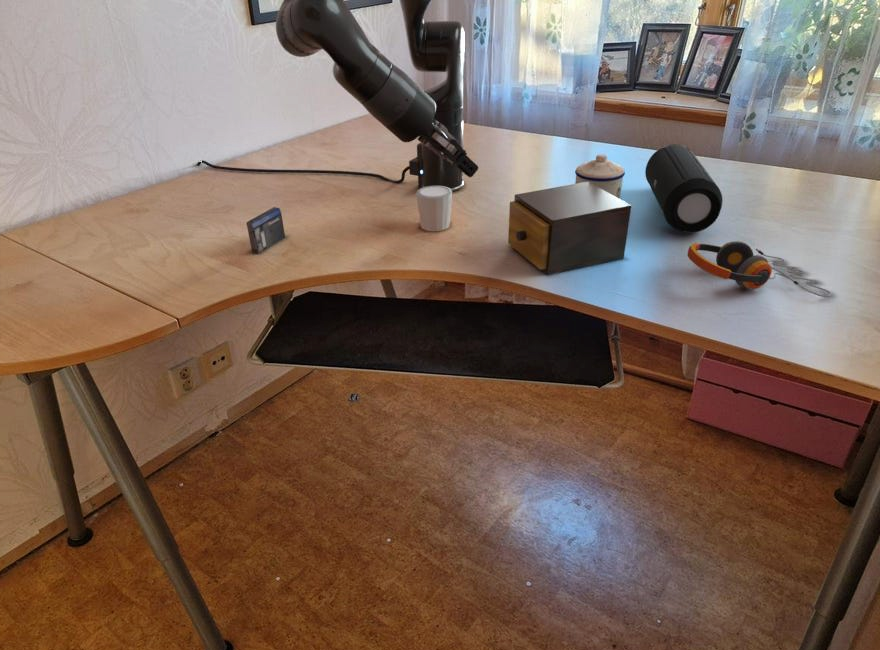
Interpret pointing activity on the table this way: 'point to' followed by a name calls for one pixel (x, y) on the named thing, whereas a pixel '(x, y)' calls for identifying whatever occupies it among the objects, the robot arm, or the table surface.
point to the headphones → (743, 265)
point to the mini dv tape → (265, 230)
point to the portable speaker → (683, 189)
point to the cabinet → (580, 225)
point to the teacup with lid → (601, 174)
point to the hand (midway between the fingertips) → (473, 171)
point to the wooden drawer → (528, 234)
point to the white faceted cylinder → (434, 207)
